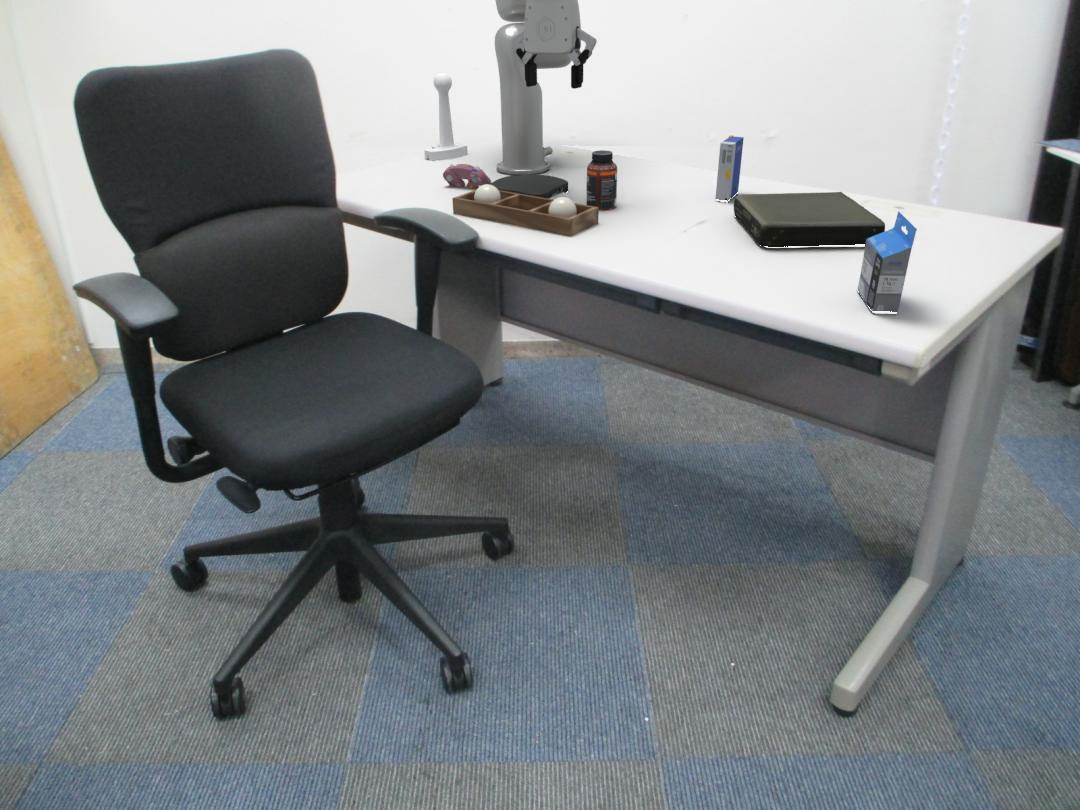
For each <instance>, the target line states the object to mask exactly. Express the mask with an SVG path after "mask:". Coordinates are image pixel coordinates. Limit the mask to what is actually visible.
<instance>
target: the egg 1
mask: <svg viewBox="0 0 1080 810" xmlns="http://www.w3.org/2000/svg"><path fill="white" fill-rule="evenodd" d="M475 190H476V192H475V194H474V201H479V202H485V203H490V204H491V203H494V202H497V201H499V200H501V195H500V192H499V190H498V189H497V188H496V187H495V186H493V185H490V184H485V185H482V186H478V187H477V188H476V189H475Z"/></svg>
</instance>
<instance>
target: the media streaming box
mask: <svg viewBox="0 0 1080 810" xmlns="http://www.w3.org/2000/svg"><path fill="white" fill-rule="evenodd" d="M490 185H493V186H495V187H496V188H497V189H498V190H501V191H507V192H513V193H519V194H525V195H530V196H536V197H542V198H548V199H551V198H552V197H554V196H556V195H559V194H560V193H562V194H563V193H565V194H567V193H566V192H567V191H568V192H569V182H568V180H566V179H563V178H560V177H557V176H553V175H549V174H539V173H538V174H530V175H507V176H503V177H500V178H498V179H496V180H494V181H491V184H490Z"/></svg>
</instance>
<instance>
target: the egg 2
mask: <svg viewBox="0 0 1080 810" xmlns="http://www.w3.org/2000/svg"><path fill="white" fill-rule="evenodd" d="M574 203H575V202H574V201H573V200H572V199H571V198H568V197H567V196H566V197H565V196H560V197H556V198H555V199H554V200H553V201H552V203H551V204H550V206H549V211H548V213H549V214H550V215H555V216H561V217H566V218H570V217H572V216H574V215H576V214H577V209H576V206H575V204H574Z"/></svg>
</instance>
